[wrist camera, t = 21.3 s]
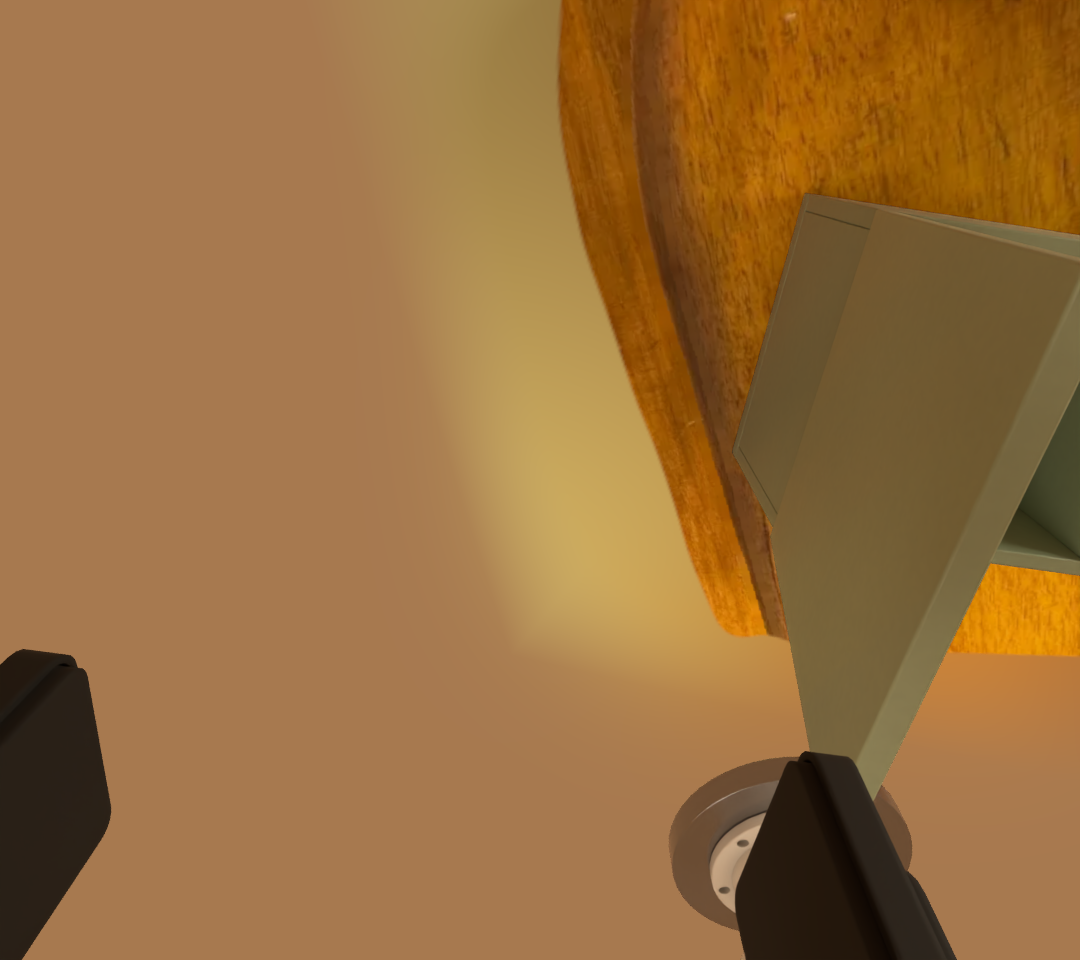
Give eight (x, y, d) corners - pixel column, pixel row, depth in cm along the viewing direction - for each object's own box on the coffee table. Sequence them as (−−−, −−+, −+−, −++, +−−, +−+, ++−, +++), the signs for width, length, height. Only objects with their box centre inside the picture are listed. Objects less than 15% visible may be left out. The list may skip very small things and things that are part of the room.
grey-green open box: (1099, 238, 36) (1270, 268, 28) (983, 488, 43) (1092, 578, 34) (804, 192, 36) (882, 209, 27) (731, 452, 42) (775, 534, 33)
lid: (1136, 271, 12) (1087, 263, 12) (855, 841, 18) (823, 833, 18) (897, 211, 27) (876, 208, 27) (786, 540, 33) (769, 537, 33)
